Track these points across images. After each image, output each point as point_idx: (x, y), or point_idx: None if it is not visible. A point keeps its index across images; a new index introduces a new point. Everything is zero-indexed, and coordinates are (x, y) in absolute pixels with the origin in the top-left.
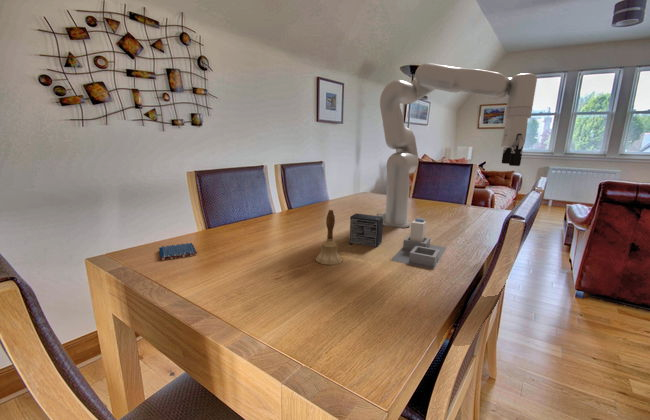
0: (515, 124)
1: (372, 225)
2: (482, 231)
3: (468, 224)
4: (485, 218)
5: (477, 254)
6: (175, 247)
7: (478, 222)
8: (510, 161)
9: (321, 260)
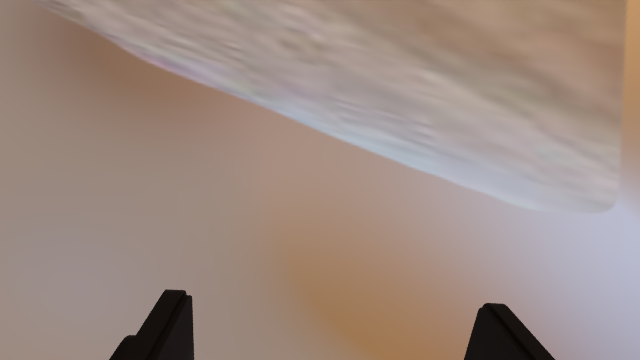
0: None
1: None
2: (438, 136)
3: (526, 110)
4: (611, 196)
5: (176, 46)
6: None
7: (555, 155)
8: (147, 322)
9: None
